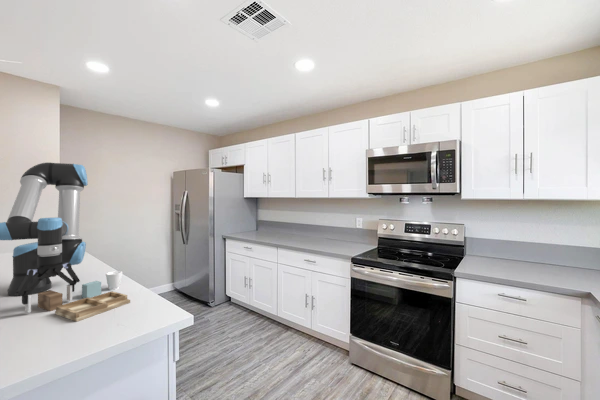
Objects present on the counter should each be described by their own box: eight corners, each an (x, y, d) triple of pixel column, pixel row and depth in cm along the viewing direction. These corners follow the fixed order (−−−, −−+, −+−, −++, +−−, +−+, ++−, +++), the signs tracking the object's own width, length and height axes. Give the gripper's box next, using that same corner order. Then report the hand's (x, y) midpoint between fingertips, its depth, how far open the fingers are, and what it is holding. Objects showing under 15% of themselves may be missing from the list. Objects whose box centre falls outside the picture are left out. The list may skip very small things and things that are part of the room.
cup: (106, 292, 130) (106, 275, 129) (104, 286, 137) (104, 271, 137) (123, 289, 134) (123, 273, 134) (120, 284, 142) (120, 268, 142)
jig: (55, 314, 105) (55, 306, 105) (109, 297, 123) (109, 290, 123) (76, 321, 99) (76, 313, 99) (130, 302, 117) (130, 295, 117)
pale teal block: (81, 297, 123) (81, 284, 123) (96, 293, 128) (96, 280, 128) (86, 298, 121) (86, 285, 121) (101, 294, 127) (101, 281, 127)
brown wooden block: (37, 307, 112) (37, 293, 112) (49, 303, 115) (49, 290, 115) (50, 311, 108) (50, 296, 108) (62, 307, 111) (62, 293, 111)
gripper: (12, 261, 98) (12, 319, 98) (89, 250, 121) (89, 297, 121) (3, 259, 101) (3, 315, 101) (79, 249, 124) (79, 294, 124)
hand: (49, 305), depth 111 cm, fingers open, 13 cm apart
